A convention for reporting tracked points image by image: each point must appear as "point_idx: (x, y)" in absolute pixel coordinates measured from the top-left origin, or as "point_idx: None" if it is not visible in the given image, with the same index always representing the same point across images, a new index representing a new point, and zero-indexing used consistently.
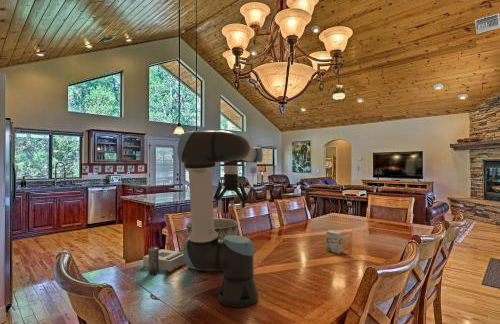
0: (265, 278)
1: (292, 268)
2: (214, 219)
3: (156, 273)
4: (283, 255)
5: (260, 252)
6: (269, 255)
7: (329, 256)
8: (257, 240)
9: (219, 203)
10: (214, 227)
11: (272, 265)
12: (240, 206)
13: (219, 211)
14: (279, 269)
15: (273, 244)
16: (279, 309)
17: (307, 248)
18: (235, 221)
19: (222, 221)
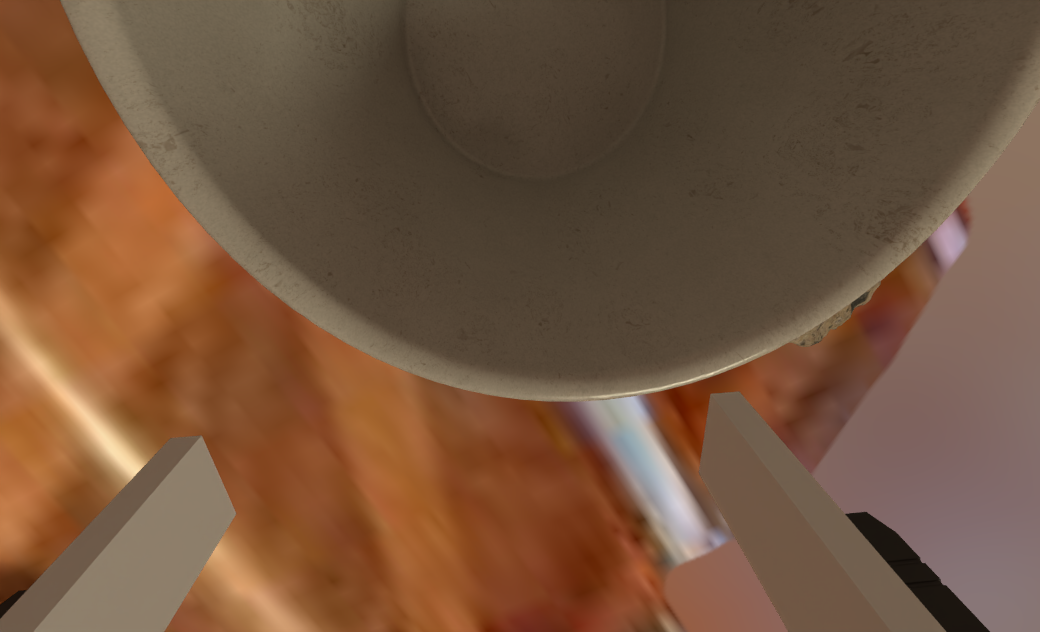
0: (41, 11)
1: (47, 282)
2: (747, 329)
3: None
4: (251, 452)
5: (401, 438)
6: (321, 417)
7: (34, 541)
8: (536, 591)
9: (836, 579)
10: (690, 274)
11: (186, 272)
12: (65, 590)
13: (716, 415)
14: (98, 227)
15: (417, 574)
16: None
17: (217, 594)
18: (323, 312)
19: (612, 352)
